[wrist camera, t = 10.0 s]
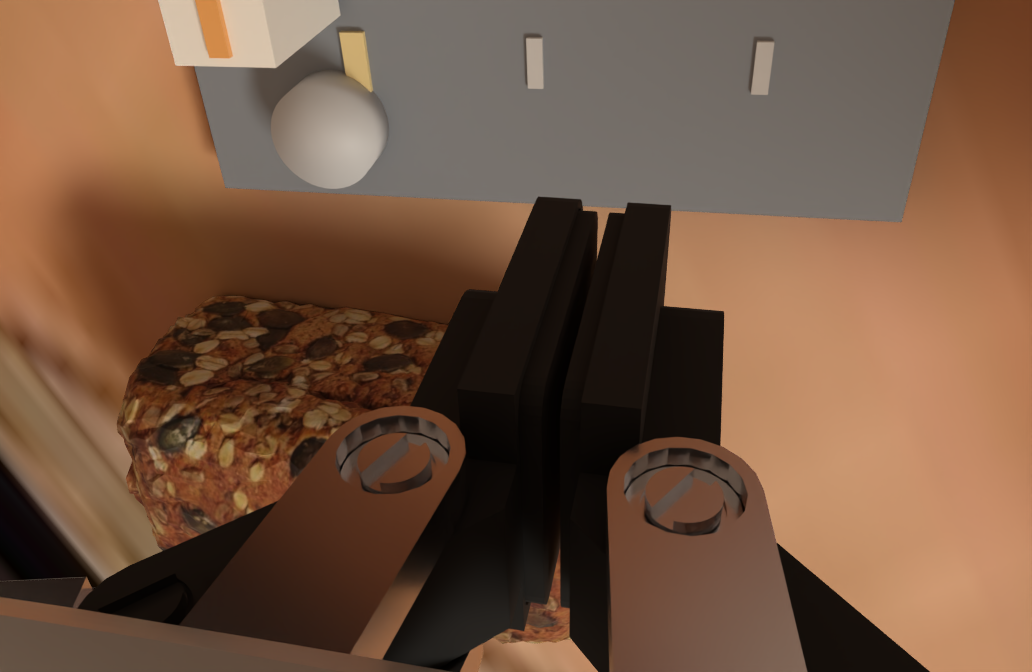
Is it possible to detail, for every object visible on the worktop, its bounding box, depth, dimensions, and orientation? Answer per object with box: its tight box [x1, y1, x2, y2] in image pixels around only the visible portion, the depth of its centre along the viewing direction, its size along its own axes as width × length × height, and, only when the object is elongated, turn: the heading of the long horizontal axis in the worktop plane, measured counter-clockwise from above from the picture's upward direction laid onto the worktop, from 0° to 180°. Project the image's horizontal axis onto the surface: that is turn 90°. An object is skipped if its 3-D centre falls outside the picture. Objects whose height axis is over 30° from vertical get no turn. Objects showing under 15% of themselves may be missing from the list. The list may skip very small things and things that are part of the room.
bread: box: [117, 296, 571, 644], centre depth 36 cm, size 19×11×10 cm, turn 87°
